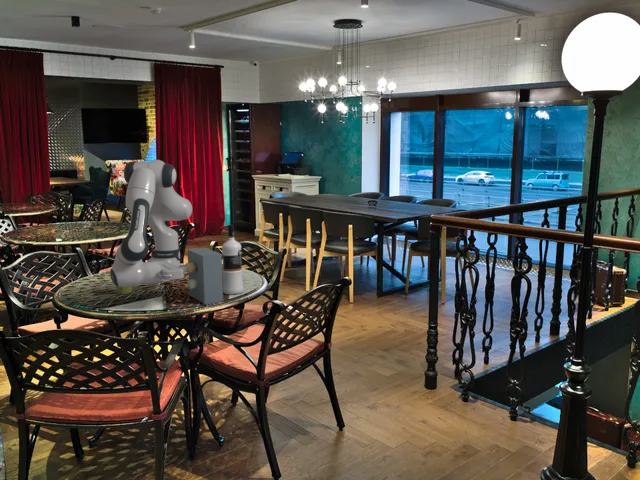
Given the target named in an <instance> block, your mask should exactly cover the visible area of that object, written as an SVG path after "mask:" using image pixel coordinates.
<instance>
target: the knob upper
mask: <svg viewBox="0 0 640 480" xmlns="http://www.w3.org/2000/svg"><path fill="white" fill-rule="evenodd" d="M185 266H186V267H188V271H185V273H187V274H188V273H190V272H195V271H196V269H197V265H195V263H194V262H193V263H188V262H187V263H185Z"/></svg>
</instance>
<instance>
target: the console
mask: <svg viewBox="0 0 640 480" xmlns="http://www.w3.org/2000/svg"><path fill="white" fill-rule="evenodd" d="M186 251H187V263H193V262H194V263H195V265H197V269H196V271H195V272H190V273H187V274H188V280H189V279H197V281H198V288H194V289H189V288H188V290H189V291H188V292H189V293H188V294H189V295H188V296H189V297H192V298H193V299H195V300H197V301H199V303H200V302H201V303H202V305H210V304H216V303H223V302H224V293H223V254H222V253H220V252H217V251H215V250H212V249H210V248H208V247H207V248H206V247H200V248H191V249H187V250H186Z"/></svg>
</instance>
